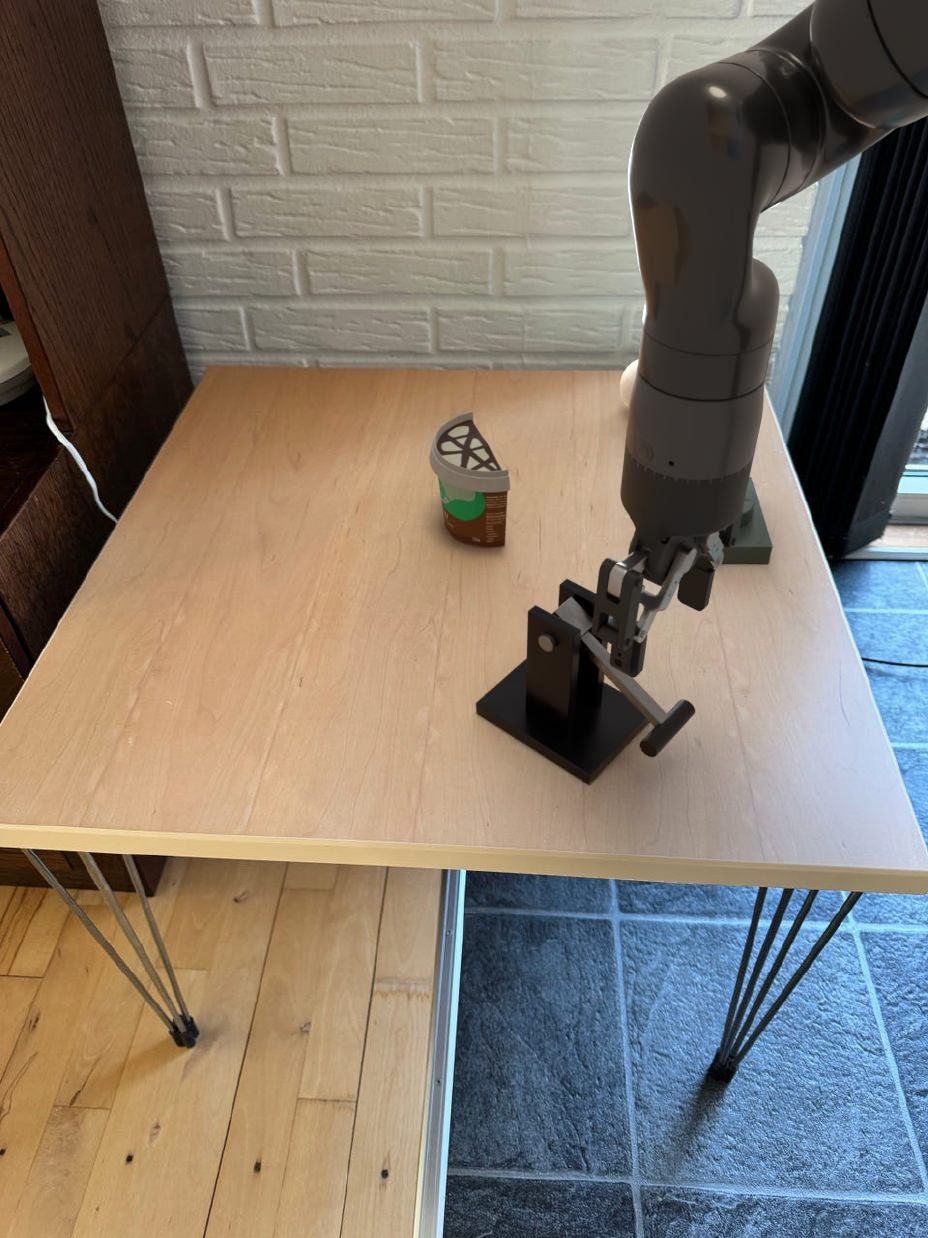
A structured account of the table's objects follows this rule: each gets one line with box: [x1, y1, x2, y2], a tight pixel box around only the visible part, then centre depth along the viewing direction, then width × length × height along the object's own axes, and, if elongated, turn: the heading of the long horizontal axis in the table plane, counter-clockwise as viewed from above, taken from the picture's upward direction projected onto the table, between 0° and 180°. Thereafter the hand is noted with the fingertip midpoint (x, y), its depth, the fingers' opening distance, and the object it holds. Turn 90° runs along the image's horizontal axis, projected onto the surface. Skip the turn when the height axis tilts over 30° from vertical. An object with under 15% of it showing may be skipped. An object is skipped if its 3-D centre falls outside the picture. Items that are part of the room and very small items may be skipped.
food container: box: [428, 410, 511, 548], centre depth 99 cm, size 12×6×10 cm, turn 17°
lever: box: [551, 597, 696, 758], centre depth 75 cm, size 13×6×2 cm, turn 49°
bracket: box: [475, 578, 650, 785], centre depth 78 cm, size 12×9×13 cm
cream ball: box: [619, 359, 638, 409], centre depth 116 cm, size 7×7×7 cm
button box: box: [721, 476, 774, 565], centre depth 100 cm, size 12×9×4 cm
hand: (660, 635), depth 68 cm, fingers open, 8 cm apart
